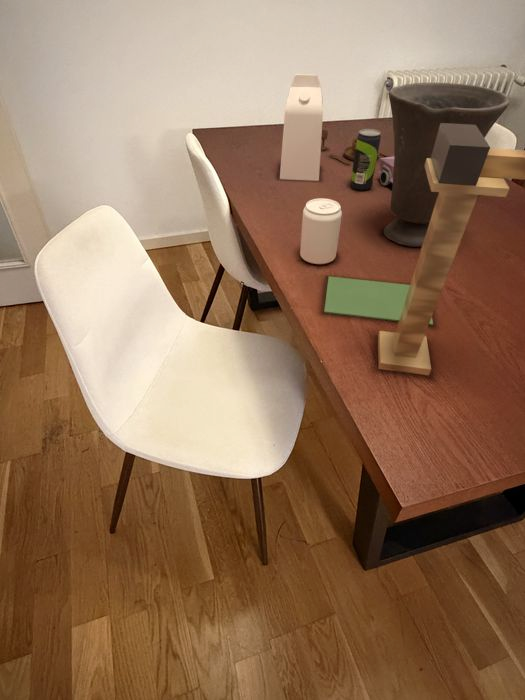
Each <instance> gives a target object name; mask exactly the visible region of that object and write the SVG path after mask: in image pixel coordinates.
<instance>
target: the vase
mask: <svg viewBox="0 0 525 700" xmlns="http://www.w3.org/2000/svg"><path fill="white" fill-rule="evenodd" d="M388 99H389V104H390V110H391V118H392V129H393V131H392V132H393V145H394V147H393V151H394V152H393V154H394V155H393V156H394V172H393V183H392V187H391V197H390V206H389V207H390V212H391V213H392V214H393V215H394V216H395V217H396V219H394V220H393V221H390V222H389V223H388V225H386V226H385V227H384V228H383V229H384V230H383V235H384V236H385V237H386V238H387V239H389V240H391V241H393V242H394V243H396V244H399V245H402V246H407V247H415V248H416V247H417V248H422V245H423V242H424V239H425V236H426V232H427V229H428V226H429V223H430V220H431V216H432V213H433V210H434V207H435V204H436V200H437V197H438V194H439V192H432V191H431V188H430V185H429V181H428V177H427V174H426V170H425V162H426V159H427V158H431V156H432V152H433V148H434V145H435V141H436V138H437V134H438V131H439V127H440V124H441V123H450V124H469V125H476V126H477V128H478V129H479V131H480V132H481V134H482V135H483V137H484V138H485V139H486V137H487V135H488V133H489V132H490V130H491V129H492V128H493V126H495V124H496V122H497V121H498V120H499V119H500V117H501V116H502V115H503V114H504V112H505V111H506V110H507V109H508V107H509V105H510V103H511V101H510V97H509V96H508V95H506V93H504V92H501V91H499V90H496V89H493V88H490V87H485V86H481V85H474V84H466V83H455V82H453V83H451V82H414V83H406V84H402V85H398V86H394V87H391V88H390V90H389V91H388Z"/></svg>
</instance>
